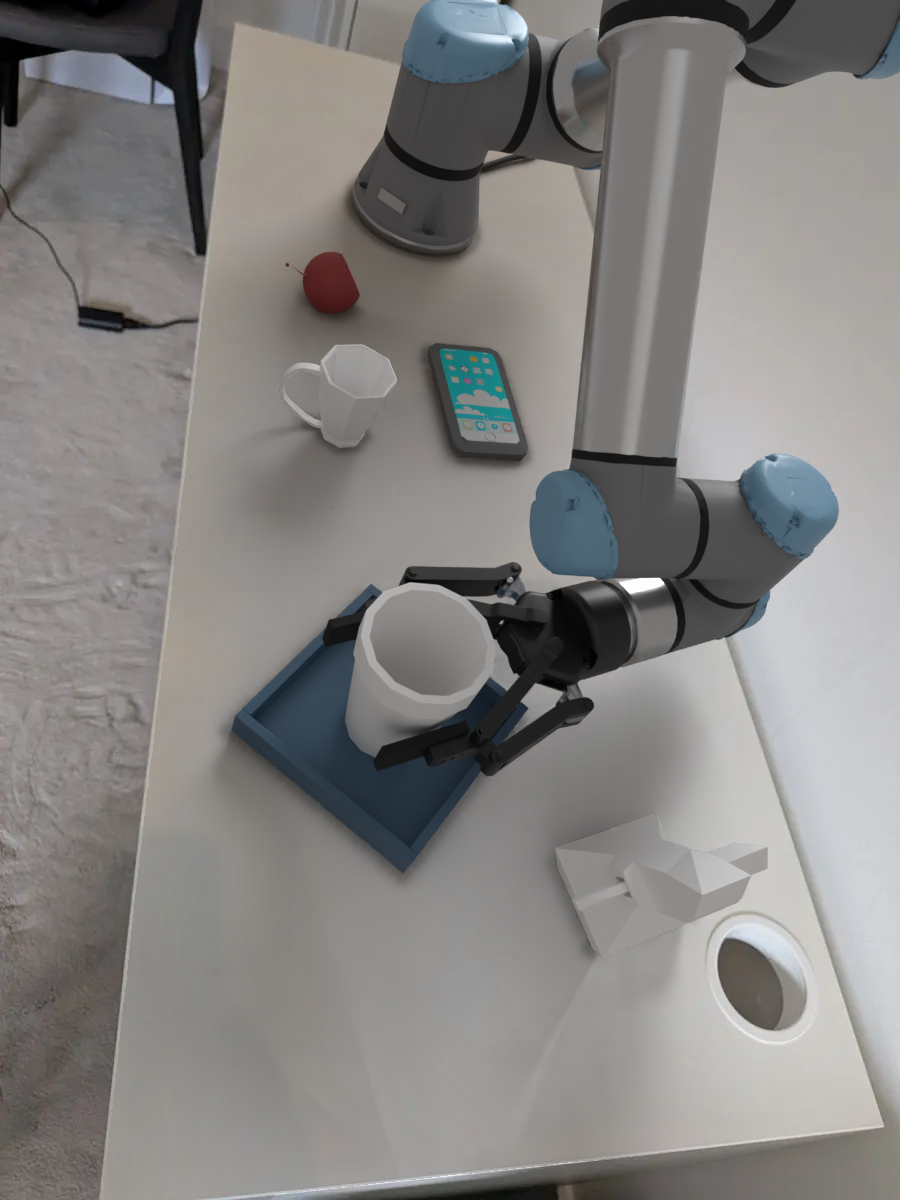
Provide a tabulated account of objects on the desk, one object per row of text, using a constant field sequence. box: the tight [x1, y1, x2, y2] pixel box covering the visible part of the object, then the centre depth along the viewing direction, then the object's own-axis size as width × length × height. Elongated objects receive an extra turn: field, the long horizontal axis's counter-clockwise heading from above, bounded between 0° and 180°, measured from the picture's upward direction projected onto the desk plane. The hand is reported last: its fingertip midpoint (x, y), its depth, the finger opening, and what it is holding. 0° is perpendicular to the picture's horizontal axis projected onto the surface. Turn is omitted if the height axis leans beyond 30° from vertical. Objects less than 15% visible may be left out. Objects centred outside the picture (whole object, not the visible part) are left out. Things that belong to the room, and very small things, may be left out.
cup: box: [278, 344, 398, 449], centre depth 84 cm, size 7×10×8 cm
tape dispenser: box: [554, 813, 769, 960], centre depth 65 cm, size 8×14×14 cm, turn 115°
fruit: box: [285, 251, 361, 315], centre depth 94 cm, size 6×6×8 cm
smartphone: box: [427, 342, 529, 461], centre depth 95 cm, size 9×1×15 cm
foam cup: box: [345, 582, 497, 757], centre depth 66 cm, size 10×9×13 cm
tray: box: [231, 583, 529, 874], centre depth 71 cm, size 17×17×3 cm
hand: (352, 694), depth 64 cm, fingers closed on foam cup, 9 cm apart
